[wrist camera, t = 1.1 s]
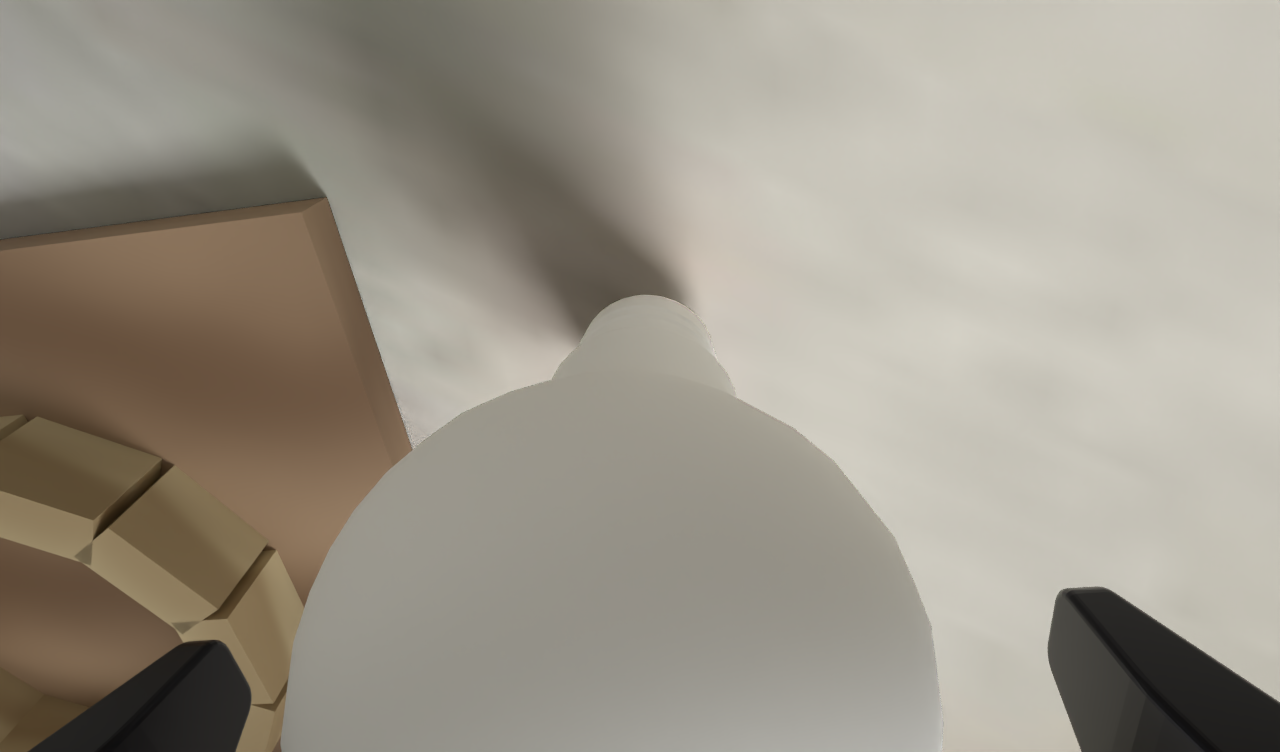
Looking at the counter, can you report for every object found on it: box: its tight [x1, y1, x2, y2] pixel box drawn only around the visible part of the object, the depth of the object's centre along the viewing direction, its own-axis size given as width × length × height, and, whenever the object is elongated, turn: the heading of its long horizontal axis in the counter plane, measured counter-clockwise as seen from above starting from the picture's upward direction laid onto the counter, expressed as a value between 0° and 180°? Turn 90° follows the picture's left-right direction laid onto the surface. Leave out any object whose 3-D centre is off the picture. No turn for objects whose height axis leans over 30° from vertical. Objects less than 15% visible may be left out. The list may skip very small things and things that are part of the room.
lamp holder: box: [0, 197, 412, 752], centre depth 17 cm, size 17×17×3 cm
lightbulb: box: [280, 295, 944, 752], centre depth 10 cm, size 6×6×11 cm
